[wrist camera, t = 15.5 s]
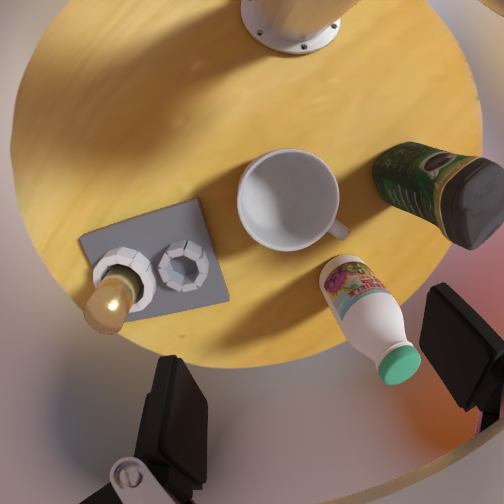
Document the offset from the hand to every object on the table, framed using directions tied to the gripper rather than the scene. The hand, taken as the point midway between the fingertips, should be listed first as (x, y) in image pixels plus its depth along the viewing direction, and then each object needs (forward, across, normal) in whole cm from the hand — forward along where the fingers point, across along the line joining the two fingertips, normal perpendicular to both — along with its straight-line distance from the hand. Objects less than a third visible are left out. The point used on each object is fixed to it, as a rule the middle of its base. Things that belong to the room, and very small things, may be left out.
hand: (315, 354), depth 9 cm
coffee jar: (+28, -21, +2) cm, 35 cm away
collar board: (+28, +16, +7) cm, 33 cm away
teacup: (+29, -4, +2) cm, 29 cm away
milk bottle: (+28, -10, +16) cm, 34 cm away
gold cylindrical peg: (+27, +20, +7) cm, 34 cm away
